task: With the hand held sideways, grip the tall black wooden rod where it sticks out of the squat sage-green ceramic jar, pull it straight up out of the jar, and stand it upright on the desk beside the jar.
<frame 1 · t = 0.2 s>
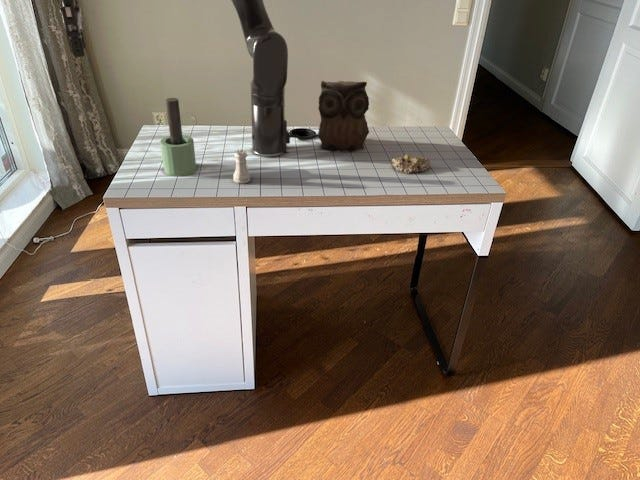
hand: (80, 52, 113), 29 cm above the table, tool pointing down, fingers open, 8 cm apart
rook chess piece: (241, 181, 126), on the table
rod: (180, 167, 129), point 1 cm above the table, touching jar
owl: (341, 145, 150), on the table
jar: (180, 169, 130), on the table, touching rod
mineral rock: (410, 168, 137), on the table
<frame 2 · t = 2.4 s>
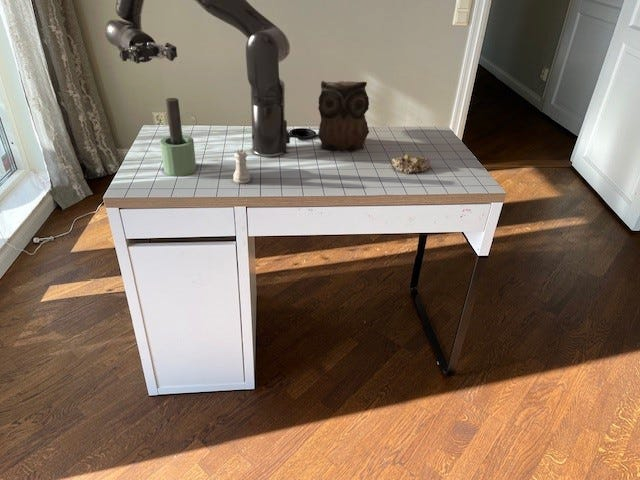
hand: (155, 58, 123), 26 cm above the table, tool horizontal, fingers open, 8 cm apart
nothing on the table moved.
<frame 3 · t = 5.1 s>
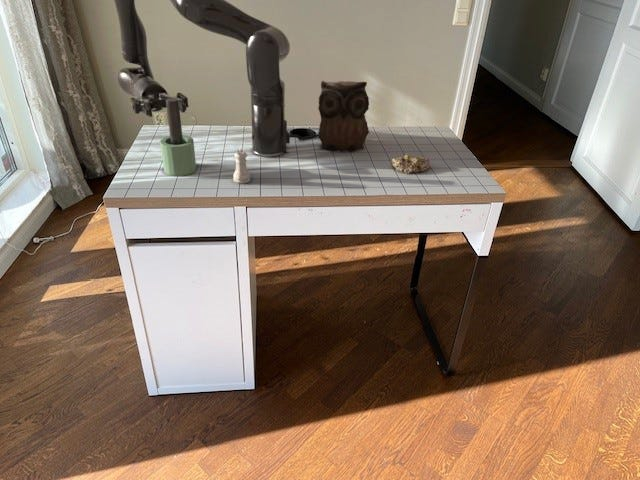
hand: (167, 110, 126), 14 cm above the table, tool horizontal, fingers open, 8 cm apart
nothing on the table moved.
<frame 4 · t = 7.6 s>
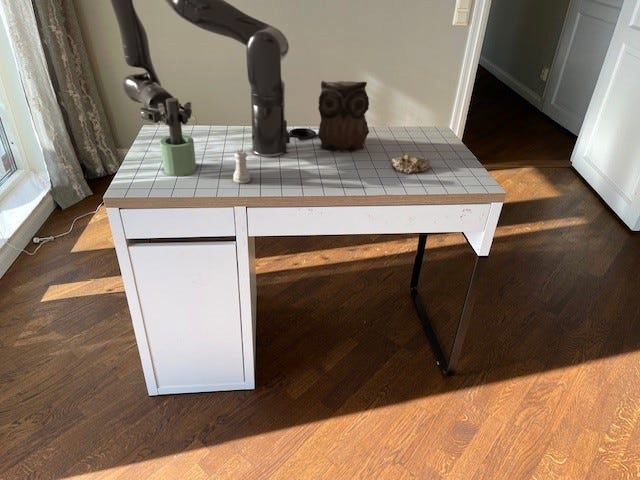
hand: (177, 121, 120), 14 cm above the table, tool horizontal, fingers closed on rod, 3 cm apart
rod: (180, 167, 129), point 1 cm above the table, touching gripper, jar
everything else where it was.
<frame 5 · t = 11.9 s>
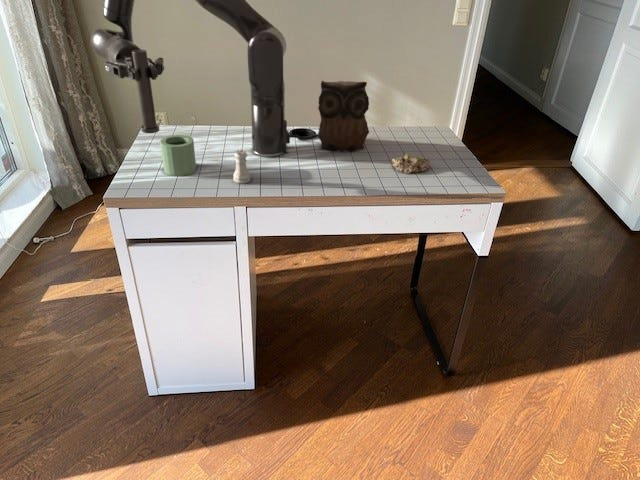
hand: (145, 75, 107), 27 cm above the table, tool horizontal, fingers closed on rod, 3 cm apart
rod: (150, 130, 116), point 13 cm above the table, touching gripper
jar: (180, 169, 130), on the table
everything else where it was.
when the fingers open (13 cm above the table, at t = 16.1 s): rod stays where it is, on the table.
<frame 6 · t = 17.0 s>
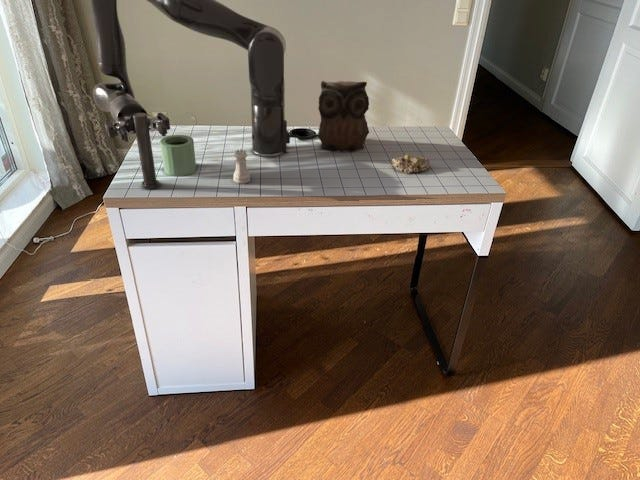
hand: (145, 135, 112), 14 cm above the table, tool horizontal, fingers open, 8 cm apart
rod: (151, 186, 121), on the table
everything else where it was.
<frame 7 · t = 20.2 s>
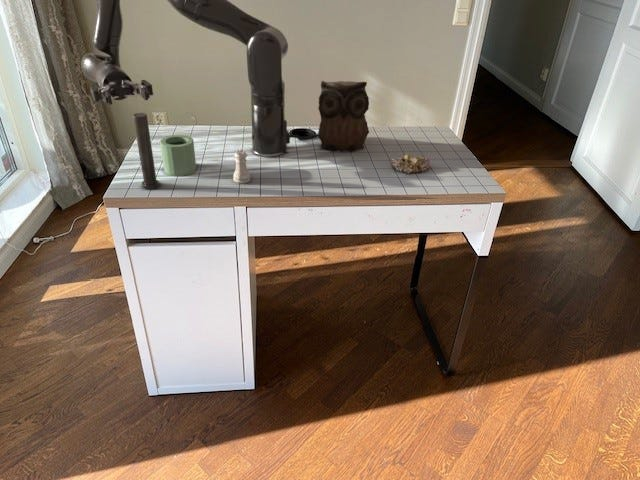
hand: (128, 98, 119), 19 cm above the table, tool horizontal, fingers open, 8 cm apart
nothing on the table moved.
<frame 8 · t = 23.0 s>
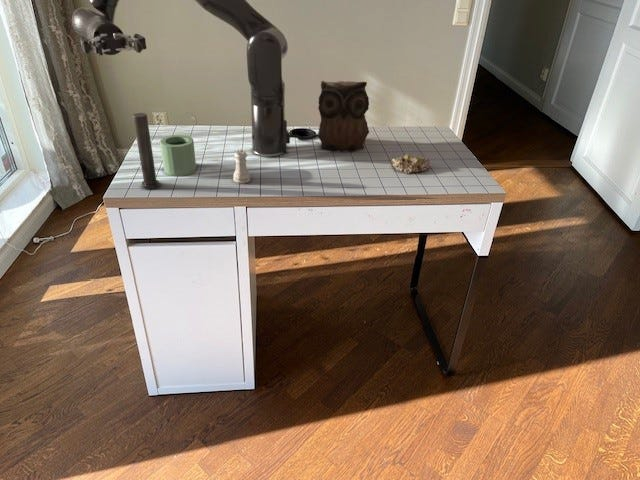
hand: (120, 49, 113), 30 cm above the table, tool horizontal, fingers open, 8 cm apart
nothing on the table moved.
at the end: rod inside the target area (0.1 cm from its centre), on the table; rod tilted 0°; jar tilted 0° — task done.
